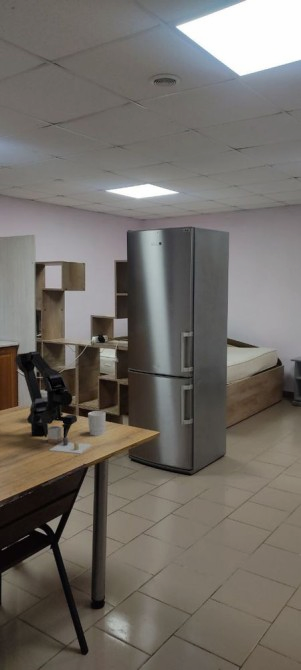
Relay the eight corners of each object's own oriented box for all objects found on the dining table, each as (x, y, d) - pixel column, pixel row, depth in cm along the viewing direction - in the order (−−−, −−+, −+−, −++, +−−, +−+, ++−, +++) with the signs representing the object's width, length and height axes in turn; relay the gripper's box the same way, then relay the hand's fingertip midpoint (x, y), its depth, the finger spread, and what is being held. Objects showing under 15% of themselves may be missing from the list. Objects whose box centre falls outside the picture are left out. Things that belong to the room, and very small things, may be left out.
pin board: (49, 452, 205) (48, 442, 205) (62, 444, 215) (61, 435, 215) (80, 455, 201) (80, 445, 200) (92, 446, 211) (91, 437, 211)
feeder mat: (42, 443, 216) (42, 442, 216) (51, 438, 224) (51, 437, 224) (58, 445, 214) (58, 444, 214) (67, 439, 221) (67, 438, 221)
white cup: (103, 437, 223) (102, 415, 223) (86, 437, 225) (85, 415, 224) (108, 432, 231) (107, 411, 230) (91, 432, 233) (91, 410, 232)
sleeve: (48, 442, 217) (47, 428, 216) (53, 439, 221) (53, 425, 220) (57, 442, 215) (57, 429, 215) (62, 439, 219) (62, 426, 219)
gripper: (24, 405, 212) (26, 441, 213) (64, 408, 206) (65, 445, 207) (38, 399, 222) (39, 434, 224) (76, 402, 216) (78, 437, 218)
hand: (55, 437), depth 218 cm, fingers open, 9 cm apart
